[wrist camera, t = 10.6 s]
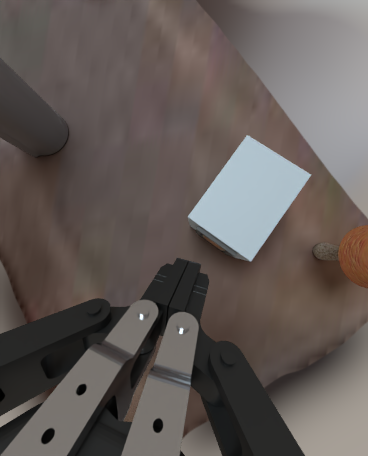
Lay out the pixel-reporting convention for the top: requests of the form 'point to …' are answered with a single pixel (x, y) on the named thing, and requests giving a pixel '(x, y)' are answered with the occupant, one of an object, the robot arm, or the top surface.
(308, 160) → the top surface
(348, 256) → the mushroom
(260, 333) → the top surface
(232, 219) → the block
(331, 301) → the top surface
